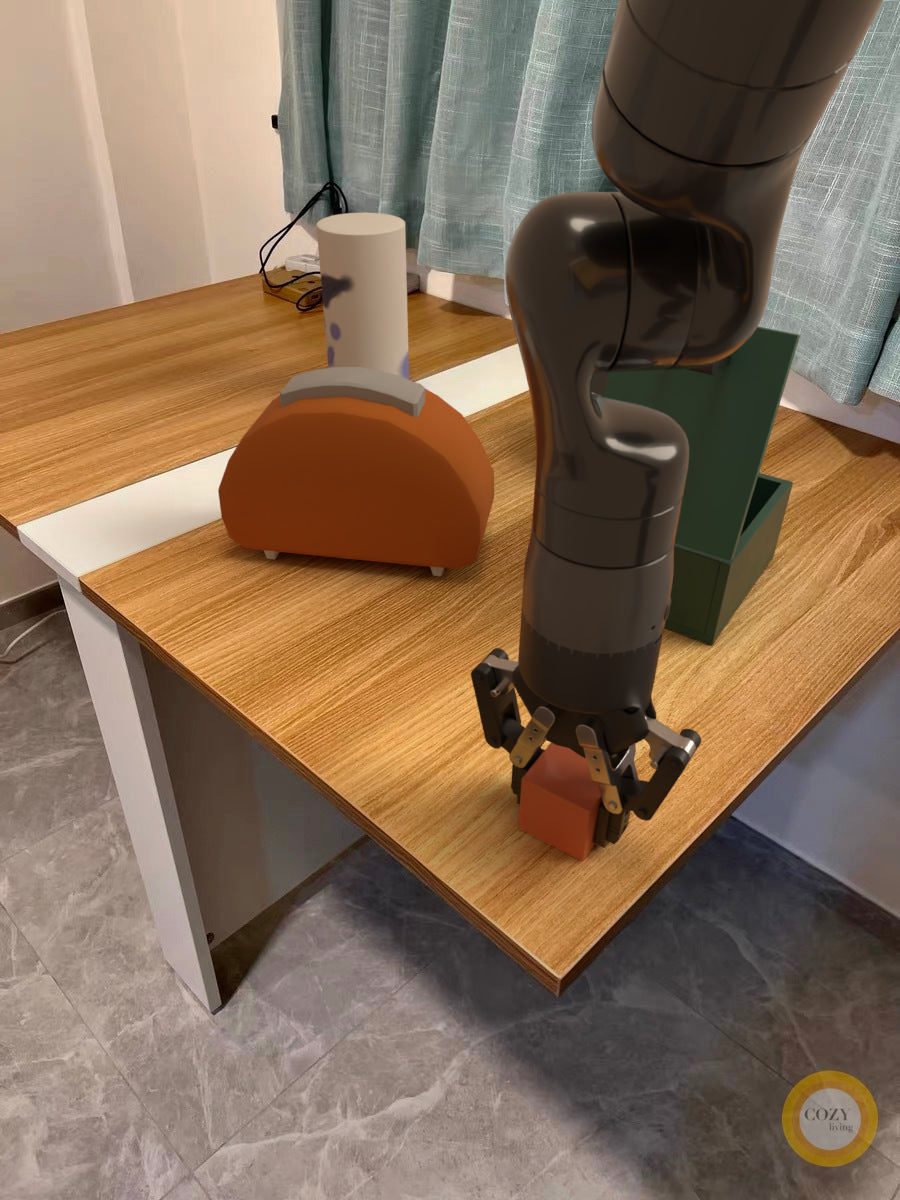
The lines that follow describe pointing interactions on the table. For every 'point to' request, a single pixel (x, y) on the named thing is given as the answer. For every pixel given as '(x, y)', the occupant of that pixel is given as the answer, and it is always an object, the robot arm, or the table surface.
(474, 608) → the table surface
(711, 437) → the lid
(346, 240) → the container
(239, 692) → the table surface
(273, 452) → the orange toaster
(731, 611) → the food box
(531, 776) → the block
